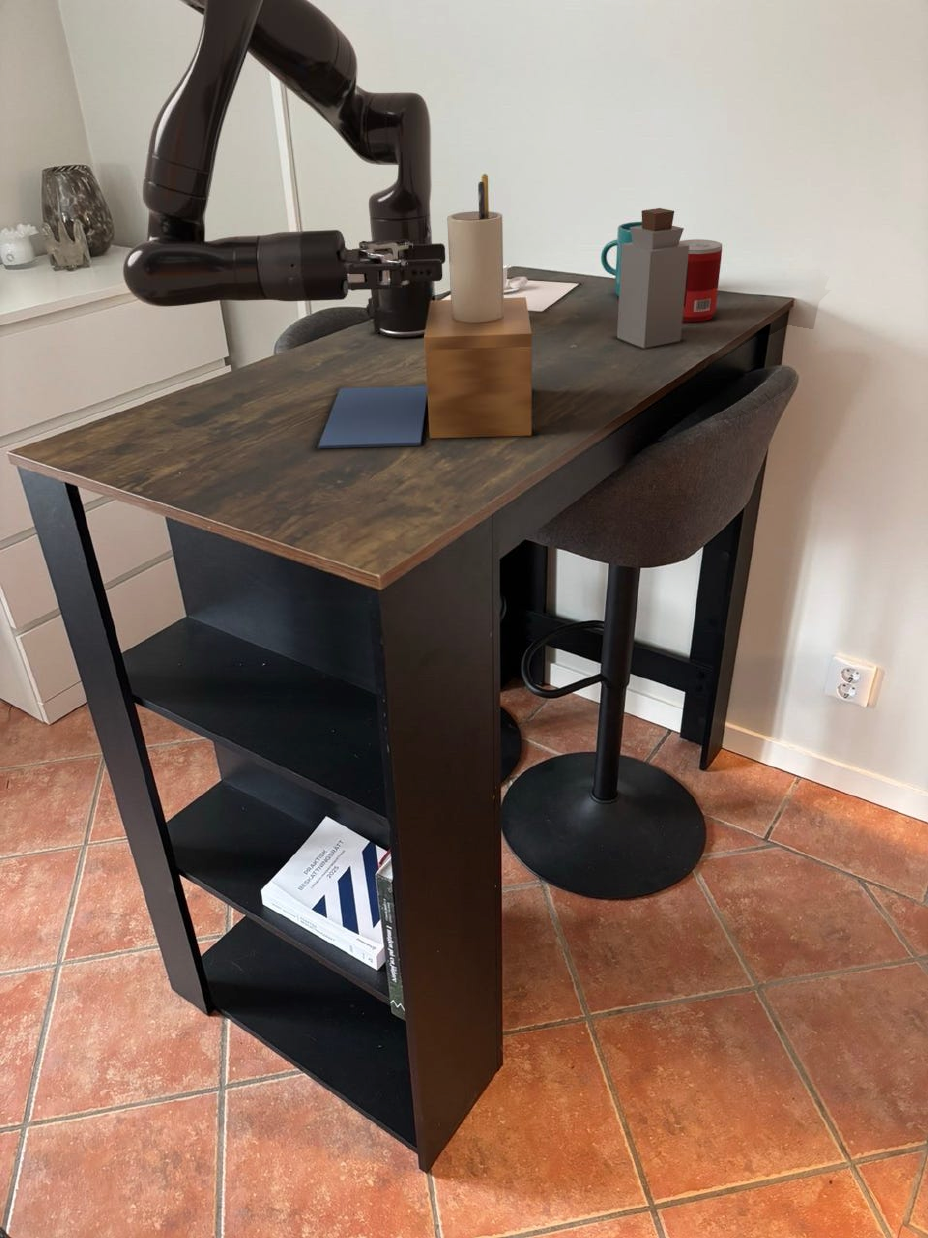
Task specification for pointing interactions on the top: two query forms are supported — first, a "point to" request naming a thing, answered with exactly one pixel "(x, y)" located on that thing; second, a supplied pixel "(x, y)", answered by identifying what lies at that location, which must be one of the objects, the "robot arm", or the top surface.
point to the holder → (476, 262)
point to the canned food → (701, 279)
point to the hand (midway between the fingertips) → (443, 261)
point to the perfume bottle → (652, 281)
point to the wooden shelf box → (479, 373)
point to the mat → (376, 417)
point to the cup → (618, 251)
